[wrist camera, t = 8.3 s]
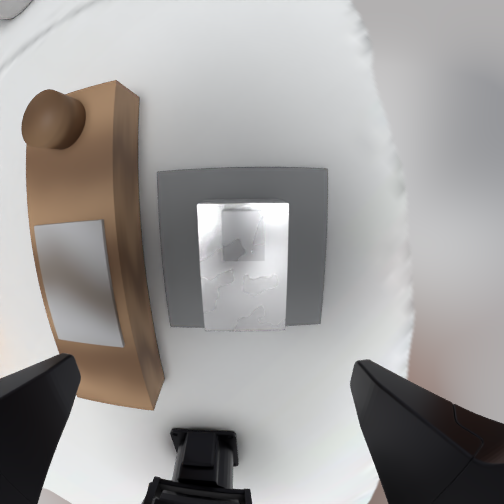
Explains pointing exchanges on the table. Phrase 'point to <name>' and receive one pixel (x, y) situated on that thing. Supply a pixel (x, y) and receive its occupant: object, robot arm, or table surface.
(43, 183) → the hand plane
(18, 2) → the cup
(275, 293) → the lever cap
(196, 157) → the table surface
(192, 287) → the rubber mat
